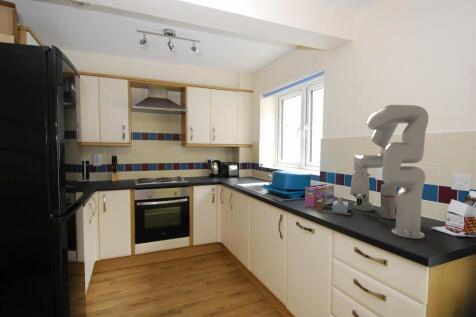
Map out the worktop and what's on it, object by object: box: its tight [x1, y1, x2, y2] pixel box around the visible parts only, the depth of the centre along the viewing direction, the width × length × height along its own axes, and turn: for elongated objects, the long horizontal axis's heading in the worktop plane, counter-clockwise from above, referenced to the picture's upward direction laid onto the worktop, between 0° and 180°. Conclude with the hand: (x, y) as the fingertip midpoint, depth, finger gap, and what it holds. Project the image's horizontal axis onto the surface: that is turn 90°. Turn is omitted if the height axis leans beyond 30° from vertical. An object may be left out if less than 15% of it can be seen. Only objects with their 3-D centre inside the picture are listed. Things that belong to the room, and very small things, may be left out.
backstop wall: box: [315, 197, 325, 213], centre depth 161 cm, size 15×2×6 cm, turn 153°
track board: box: [321, 205, 353, 216], centre depth 158 cm, size 15×19×2 cm
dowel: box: [337, 196, 344, 205], centre depth 153 cm, size 3×3×9 cm
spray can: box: [380, 183, 398, 220], centre depth 146 cm, size 8×8×20 cm
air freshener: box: [353, 194, 374, 212], centre depth 162 cm, size 11×8×10 cm
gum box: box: [304, 183, 335, 208], centre depth 176 cm, size 24×8×14 cm, turn 127°
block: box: [331, 200, 349, 213], centre depth 156 cm, size 12×8×5 cm, turn 153°
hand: (359, 205), depth 155 cm, fingers closed
